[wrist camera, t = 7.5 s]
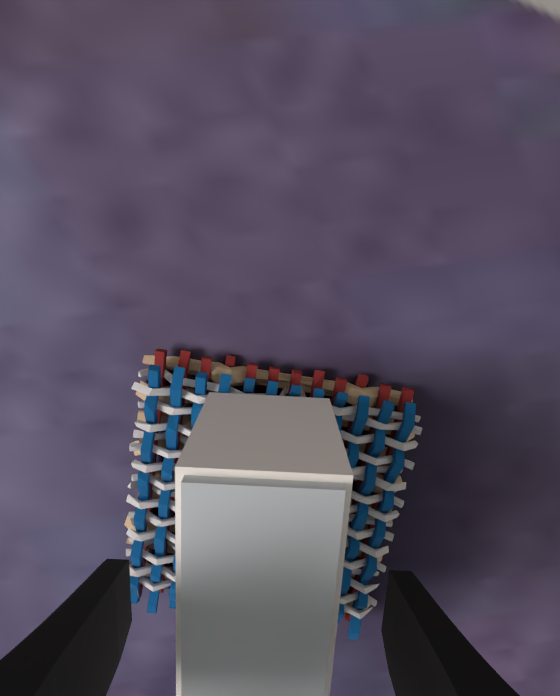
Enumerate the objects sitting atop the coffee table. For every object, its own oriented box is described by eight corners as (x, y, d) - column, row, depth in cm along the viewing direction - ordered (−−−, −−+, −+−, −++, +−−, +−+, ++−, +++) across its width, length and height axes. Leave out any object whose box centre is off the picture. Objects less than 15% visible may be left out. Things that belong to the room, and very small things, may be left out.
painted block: (329, 398, 14) (355, 482, 9) (309, 618, 17) (322, 780, 12) (209, 392, 14) (171, 473, 9) (205, 613, 16) (174, 774, 12)
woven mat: (422, 377, 16) (442, 397, 14) (363, 604, 19) (373, 647, 17) (146, 334, 16) (128, 348, 14) (125, 572, 18) (107, 612, 16)
